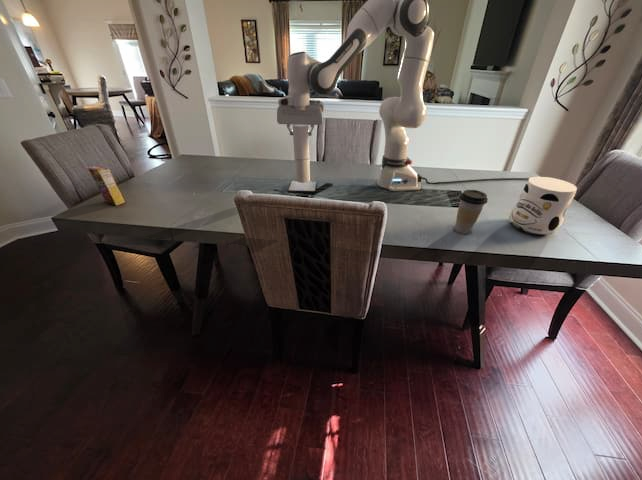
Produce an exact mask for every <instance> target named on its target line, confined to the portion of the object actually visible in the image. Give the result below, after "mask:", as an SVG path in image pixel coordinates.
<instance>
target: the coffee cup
mask: <svg viewBox="0 0 642 480" xmlns="http://www.w3.org/2000/svg"><path fill="white" fill-rule="evenodd" d="M459 199H460V202H459V203H458V209H457V212H456V213H457V214H456V219H455V220H456V221H455V226H454V231H455V232H456V233H458V234H459V233H460V234H463V235H468V234H470V233H471V231H472V230H473V227H474V225H475V224H476V222H477V220H478V219H479V216H480V214H481V213H482V210H483V208H484V206H485V204H487V203H488V201H489V200H488V195H487V194H486V193H485V192H483V191H480V190H476V189H465V190H463V192H462V193H461V194H460V195H459Z"/></svg>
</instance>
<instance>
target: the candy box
mask: <svg viewBox="0 0 642 480" xmlns="http://www.w3.org/2000/svg"><path fill="white" fill-rule="evenodd" d="M87 170H88V172H89V173H90V176H91V177H92V179H93V181H94V183H95V185H96V187H97V188H98V190H99V193H100V194H101V196H102V198H103V200H104V201H105V202H107V203H109V204H111V205H114V206H119V205H122V204H125V203H126V202H125V200H124V197H123V196H122V193H121V191H120V189H119V187H118V185H117V183H116V181H115V178H114V176H113V174H112V172H111V169H110V168H106V167H103V166H100V165H93V166H90V167H87Z"/></svg>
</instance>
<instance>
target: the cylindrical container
mask: <svg viewBox="0 0 642 480" xmlns="http://www.w3.org/2000/svg"><path fill="white" fill-rule="evenodd" d="M292 130H293V135H292V139H293V142H292V143H293V156H294V159H293V160H294V175H295V181H297V182H299V183H306V182H309V181H311V167H310V166H311V163H310V160H311V159H310V136H308V131H310V125H294V124H292Z"/></svg>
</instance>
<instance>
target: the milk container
mask: <svg viewBox="0 0 642 480" xmlns="http://www.w3.org/2000/svg"><path fill="white" fill-rule="evenodd" d="M528 178H529V180H526V181H527V182H526V183H525V185H524V187H523V189H522V191H521V194H520V196H519V197H518V200H517V201H516V203H515V204H514V205H513V206H512V208H511V210H510V211H509V215H508V223H510V225H511V226H513V227H514V228H515V229H517V230H520V231H521V232H524V233H526V234H531V235H535V236H536V235H537V236H546V235H552V234H554V233H555V232H557V230H558V229H559V228H560V227H561V226H562V224H563V221H564V218H565V213H566V211H567V209H568V208H569V206H570V205H571V203H572V202H573V199H574V197H575V196H576V193H577V190H578V187H577V186H576V185H575V184H573V183H571V182H570V181H566V180H563V179H559V178H554V177H549V176H532V177H528Z"/></svg>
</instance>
